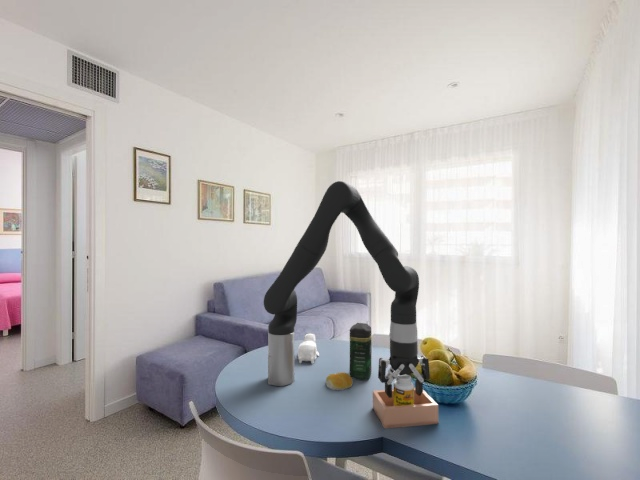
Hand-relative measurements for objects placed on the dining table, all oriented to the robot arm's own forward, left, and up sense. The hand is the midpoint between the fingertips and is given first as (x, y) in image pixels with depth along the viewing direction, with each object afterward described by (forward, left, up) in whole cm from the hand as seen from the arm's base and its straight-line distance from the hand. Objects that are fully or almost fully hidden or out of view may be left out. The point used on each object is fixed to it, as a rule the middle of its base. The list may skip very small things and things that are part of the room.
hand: (404, 395), depth 84 cm
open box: (0, 0, -6) cm, 6 cm away
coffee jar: (-5, +27, -6) cm, 28 cm away
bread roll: (-14, +21, -6) cm, 26 cm away
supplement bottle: (0, 0, -5) cm, 5 cm away
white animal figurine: (-22, +47, -6) cm, 52 cm away
